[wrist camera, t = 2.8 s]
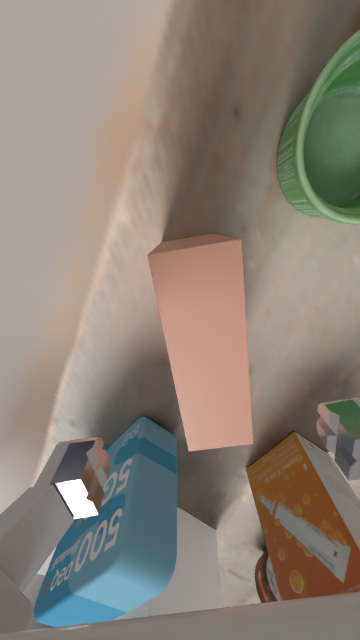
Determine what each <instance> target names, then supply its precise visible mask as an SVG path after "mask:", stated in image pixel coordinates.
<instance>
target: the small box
mask: <svg viewBox="0 0 360 640" xmlns="http://www.w3.org/2000/svg"><path fill="white" fill-rule="evenodd" d="M246 471H247V475H248V479H249V483H250V487H251V490H252V494H253V498H254V501H255V505H256V509H257V513H258V516H259V520H260V524H261V527H262V531H263V535H264V538H265V542H266V546H267V550H268V553H269V557H270V561H271V564H272V568H273V572H274V575H275V579H276V583H277V587H278V590H279V594H280V598H281V601H284V600H293V599H301V598H310V597H318V596H327V595H336V594H344V593H353V592H360V501H359V499H358V498H357V496H356V495H355V493H354V491H353V490H352V488H351V487H350V485H349V484H348V482H347V481H346V480H345V478H344V477H343V475H342V474H341V472H340V471H339V469H338V467H337V466H336V464H335V463H334V461H333V460H332V458H331V457H330V455H329V454H328V453H326V452H325V451H323V450H322V449H320V448H319V447H317V446H316V445H314V444H313V443H311V442H310V441H308V440H306V439H305V438H303V437H302V436H300V435H299V434H297V433H296V432H292V433H291V434H290V435H289V436H288V437H287V438H285V439H284V440H283V441H282V442H280V443H279V444H278V445H277V446H275V447H274V448H273V449H271V450H270V451H269V452H268V453H266V454H265V455H264V456H262V457H261V458H260V459H258V460H257V461H256V462H254V463H253V464H252V465H250V466H248V467H247V468H246Z"/></svg>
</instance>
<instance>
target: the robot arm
mask: <svg viewBox="0 0 360 640" xmlns="http://www.w3.org/2000/svg"><path fill="white" fill-rule="evenodd" d="M317 412H318V413H319V414H320V417H319V419H318V420H317V431H318V435H319V437H320V439H321V441H322V443H323V445H324V446H325V448H326V449H328V450H329V451H331V452H332V453H334V454H335V462H336V463H337V465H338V466H339V468H340V469H341V471H342V472H343V473H344V475H345V476H346V478H347V479H348V481H349V480H358V479H360V397H355V398H349V399H342V400H336V401H330V402H324V403H319V405H318V409H317ZM103 445H104V442H103V440H102V438H101V437H94V438H85V439H77V440H71V441H63V442H60V443H59V444H57V445H56V447H55V449H54V451H53V453H52V454H51V456H50V458H49V460H48V462H47V463H46V465H45V467H44V469H43V471H42V473H41V474H40V476H39V478H38V480H37V482H36V484H35V485H34V487H32V488H29V489H28V490H26V491H25V492H24V493H23V494H22V495H21V496H20V497H19V498H18V499H17V500H16V501H14V502H13V503H12V504H11V505H10V506H9V507H8V508H7V509H6V510H5V511H4V512H2V513H1V514H0V640H360V592H353V593H344V594H336V595H327V596H318V597H310V598H301V599H293V600H284V601H276V602H267V603H258V604H250V605H241V606H233V607H224V608H215V609H207V610H198V611H190V612H181V613H173V614H164V615H155V616H147V617H138V618H130V619H121V620H113V621H104V622H96V623H87V624H78V625H70V626H61V627H53V628H44V629H36V630H27V627H28V625H29V622H30V619H31V616H32V613H33V611H34V608H33V604H32V602H31V601H30V600H29V599H28V598H27V597H26V596H25V595H24V594H23V592H24V590H25V589H26V587H27V586H28V585H29V583H30V582H31V580H32V579H33V578H34V576H35V575H36V573H37V572H38V571H39V569H40V568H41V566H42V565H43V564H44V562H45V561H46V559H47V558H48V557H49V555H50V554H51V552H52V551H53V550H54V548H55V547H56V545H57V544H58V543H59V541H60V540H61V538H62V537H63V536H64V534H65V533H66V531H67V530H68V529H69V527H70V526H71V524H72V523H73V522H74V519H76V518H82V517H88V516H94V515H99V511H100V507H101V504H102V500H103V496H104V491H103V489H102V486H103V485H104V484H105V483H106V481H107V480H108V477H109V473H110V458H109V454H108V452H107V451H105V450H104V449H102V448H103ZM26 630H27V631H26Z"/></svg>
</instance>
